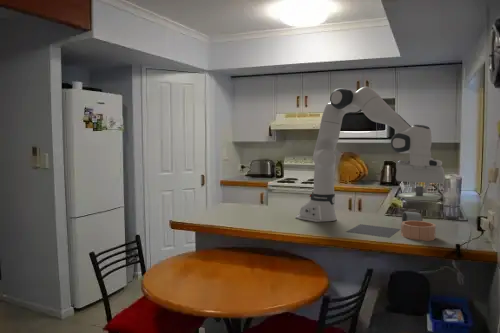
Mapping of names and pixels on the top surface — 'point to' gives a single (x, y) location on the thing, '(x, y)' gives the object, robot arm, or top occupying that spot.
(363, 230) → the mat
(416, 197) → the lid
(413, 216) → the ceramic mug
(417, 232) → the bowl
